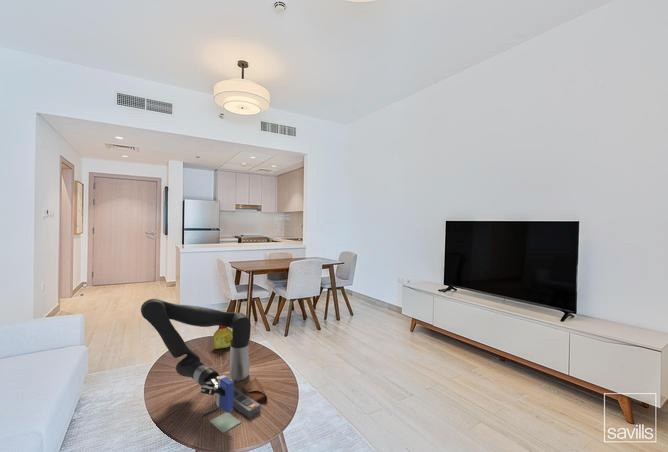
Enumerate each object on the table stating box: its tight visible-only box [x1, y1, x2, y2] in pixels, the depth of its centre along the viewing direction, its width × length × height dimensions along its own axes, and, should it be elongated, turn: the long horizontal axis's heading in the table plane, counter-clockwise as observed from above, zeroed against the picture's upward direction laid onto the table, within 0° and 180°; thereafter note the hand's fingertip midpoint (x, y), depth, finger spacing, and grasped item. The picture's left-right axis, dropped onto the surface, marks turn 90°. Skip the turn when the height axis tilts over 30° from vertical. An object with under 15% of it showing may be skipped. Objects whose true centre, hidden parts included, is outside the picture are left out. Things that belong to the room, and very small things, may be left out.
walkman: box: [216, 374, 235, 413], centre depth 123 cm, size 8×3×12 cm, turn 53°
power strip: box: [202, 387, 261, 419], centre depth 132 cm, size 25×18×3 cm
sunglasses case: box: [241, 377, 268, 404], centre depth 144 cm, size 18×7×7 cm
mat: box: [209, 412, 242, 434], centre depth 123 cm, size 8×10×1 cm
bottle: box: [212, 326, 233, 350], centre depth 193 cm, size 12×6×20 cm, turn 120°
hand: (228, 392), depth 122 cm, fingers closed on walkman, 2 cm apart
